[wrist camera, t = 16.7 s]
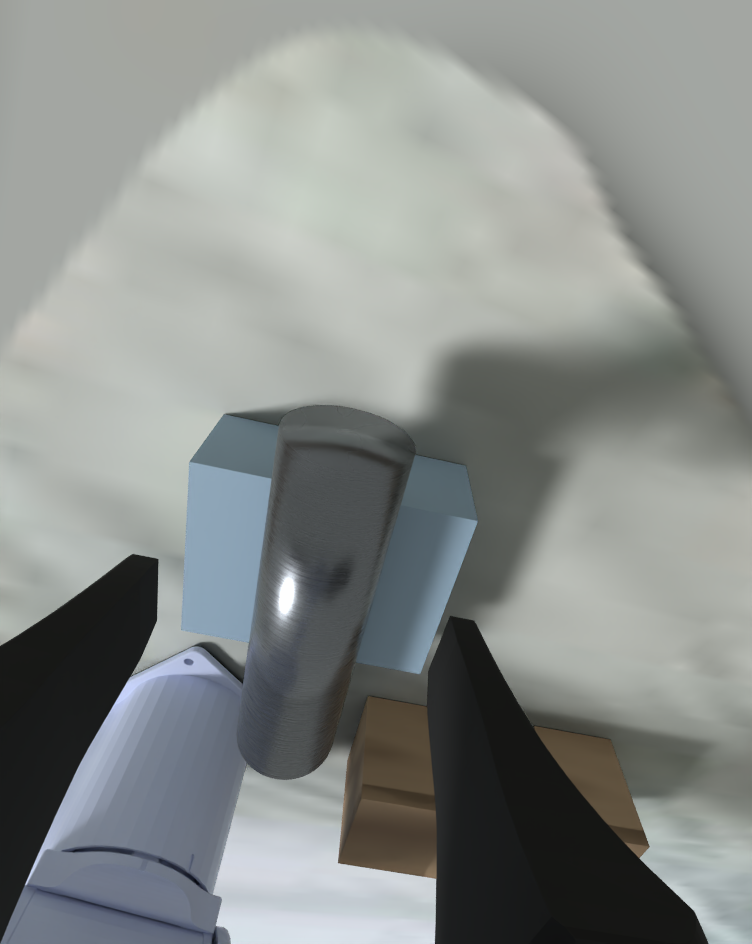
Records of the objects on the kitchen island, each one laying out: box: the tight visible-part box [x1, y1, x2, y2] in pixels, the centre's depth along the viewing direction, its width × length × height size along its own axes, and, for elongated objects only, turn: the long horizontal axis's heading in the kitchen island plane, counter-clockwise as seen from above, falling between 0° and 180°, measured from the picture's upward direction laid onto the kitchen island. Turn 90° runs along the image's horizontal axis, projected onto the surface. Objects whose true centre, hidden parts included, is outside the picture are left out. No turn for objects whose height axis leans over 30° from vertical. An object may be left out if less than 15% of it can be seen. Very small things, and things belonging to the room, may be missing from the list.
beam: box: [338, 696, 650, 879], centre depth 29 cm, size 6×14×6 cm, turn 78°
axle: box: [236, 405, 416, 780], centre depth 19 cm, size 14×4×4 cm, turn 168°
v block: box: [181, 414, 478, 674], centre depth 22 cm, size 8×10×4 cm
